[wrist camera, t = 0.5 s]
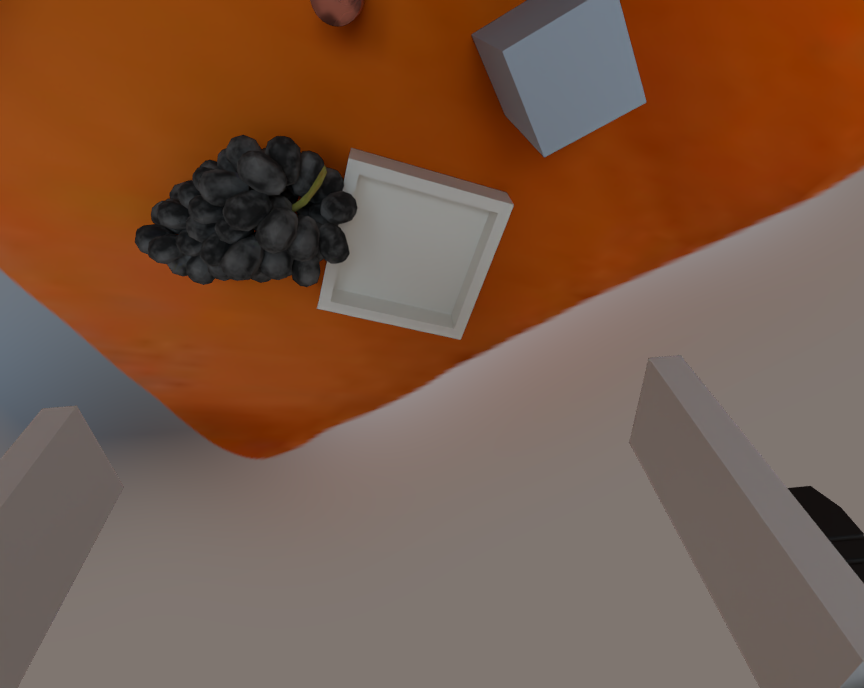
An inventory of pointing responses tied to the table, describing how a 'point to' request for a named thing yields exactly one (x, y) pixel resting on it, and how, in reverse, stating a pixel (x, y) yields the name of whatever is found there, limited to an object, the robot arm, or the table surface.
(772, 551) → the robot arm
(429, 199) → the tray
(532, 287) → the table surface
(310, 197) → the fruit
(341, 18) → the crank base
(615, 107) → the block
